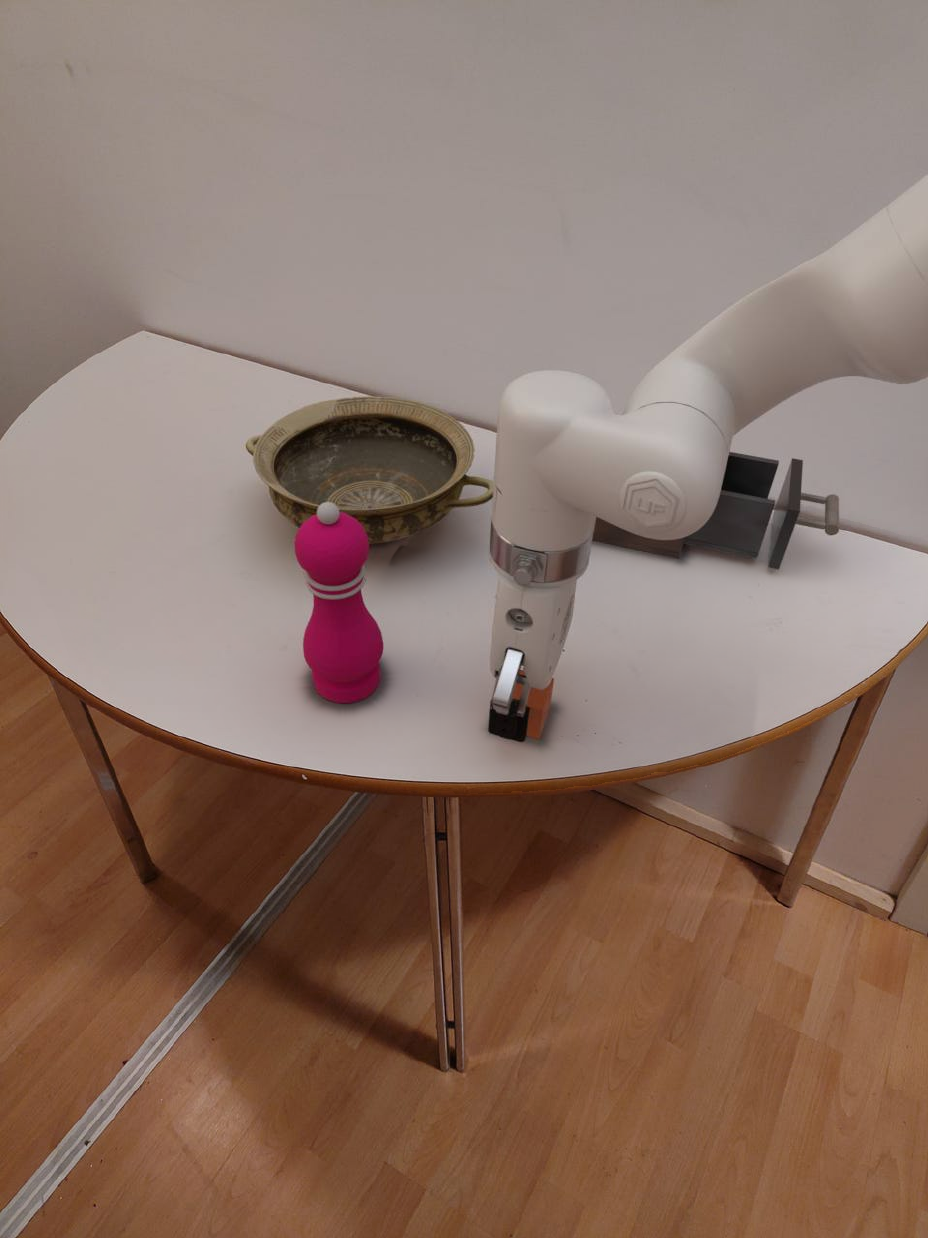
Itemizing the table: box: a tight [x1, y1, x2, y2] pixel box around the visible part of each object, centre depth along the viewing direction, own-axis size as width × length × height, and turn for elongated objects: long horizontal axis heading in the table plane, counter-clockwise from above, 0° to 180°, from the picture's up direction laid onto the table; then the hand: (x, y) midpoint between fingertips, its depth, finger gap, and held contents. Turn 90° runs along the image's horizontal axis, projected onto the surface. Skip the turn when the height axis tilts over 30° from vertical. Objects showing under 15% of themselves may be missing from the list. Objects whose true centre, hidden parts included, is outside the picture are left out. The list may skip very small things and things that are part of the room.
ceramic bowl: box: [245, 395, 494, 545], centre depth 93 cm, size 30×24×10 cm
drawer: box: [683, 451, 840, 570], centre depth 91 cm, size 18×10×8 cm, turn 71°
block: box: [513, 669, 555, 740], centre depth 73 cm, size 4×4×4 cm
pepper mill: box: [294, 502, 384, 704], centre depth 71 cm, size 7×7×20 cm
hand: (522, 694), depth 72 cm, fingers open, 9 cm apart
